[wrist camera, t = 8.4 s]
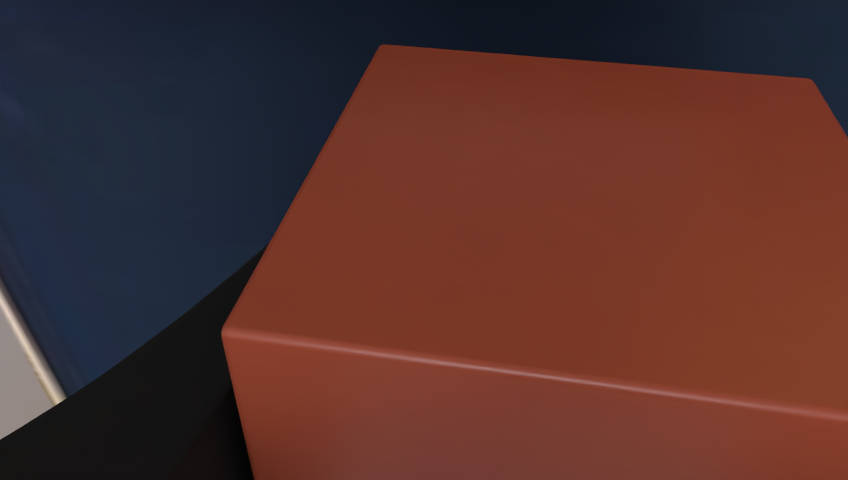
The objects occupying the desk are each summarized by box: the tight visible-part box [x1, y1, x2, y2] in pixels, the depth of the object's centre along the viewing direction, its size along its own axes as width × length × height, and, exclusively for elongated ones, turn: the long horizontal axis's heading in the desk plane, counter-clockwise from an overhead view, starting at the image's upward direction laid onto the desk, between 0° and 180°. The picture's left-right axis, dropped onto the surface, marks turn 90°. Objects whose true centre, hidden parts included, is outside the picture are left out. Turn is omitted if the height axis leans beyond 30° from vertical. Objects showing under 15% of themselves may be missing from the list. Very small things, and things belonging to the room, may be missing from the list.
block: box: [221, 44, 848, 480], centre depth 8 cm, size 5×5×5 cm
